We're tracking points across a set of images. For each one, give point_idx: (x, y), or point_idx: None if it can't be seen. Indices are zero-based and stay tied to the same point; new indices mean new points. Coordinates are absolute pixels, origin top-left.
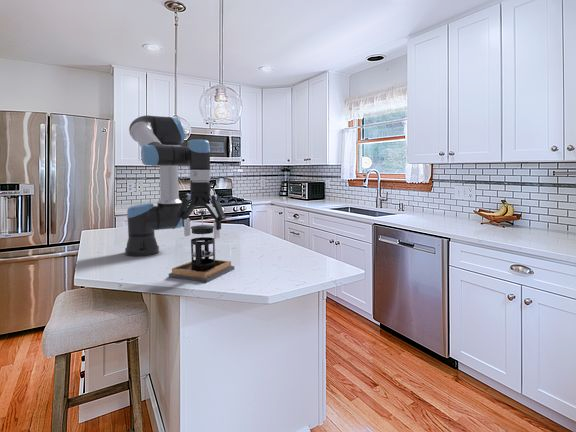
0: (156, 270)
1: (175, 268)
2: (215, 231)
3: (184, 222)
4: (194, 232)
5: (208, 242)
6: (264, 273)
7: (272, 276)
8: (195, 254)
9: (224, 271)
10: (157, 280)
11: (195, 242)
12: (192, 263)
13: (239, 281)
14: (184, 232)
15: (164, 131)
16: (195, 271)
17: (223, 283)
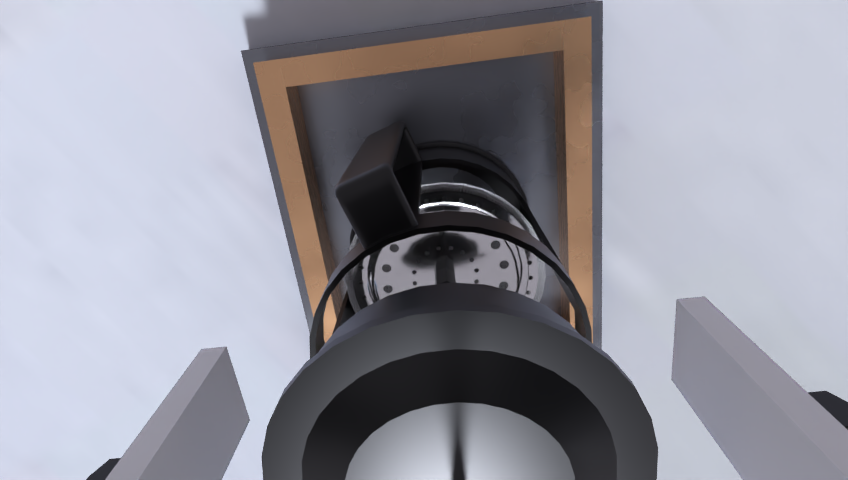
0: (804, 85)
1: (564, 36)
2: (154, 417)
3: (843, 442)
4: (476, 295)
5: (318, 307)
6: (111, 379)
7: (30, 355)
8: (395, 137)
9: (295, 268)
10: None
11: (439, 222)
12: (483, 165)
13: (99, 185)
14: (728, 323)
15: None
16: (350, 56)
17: (145, 97)
